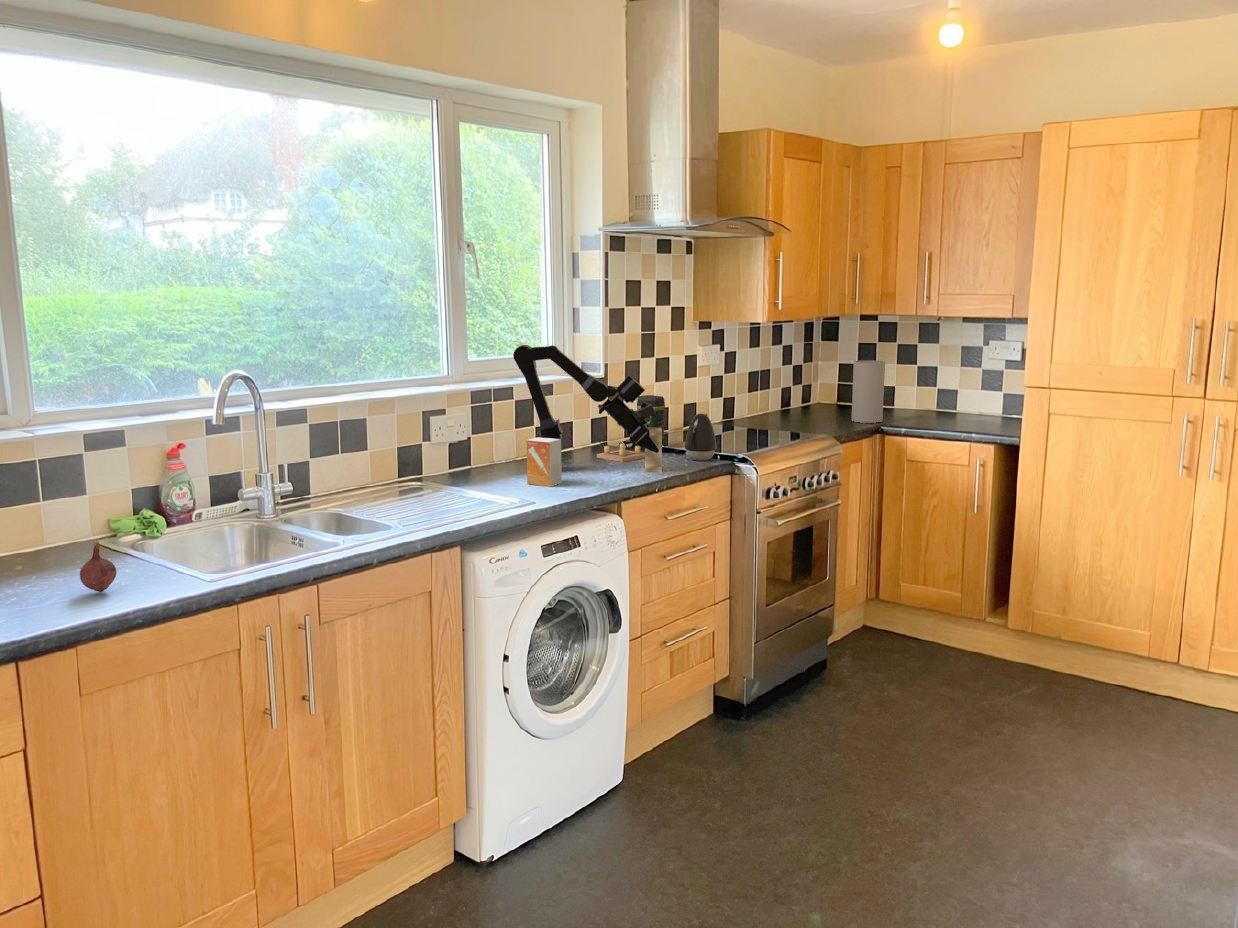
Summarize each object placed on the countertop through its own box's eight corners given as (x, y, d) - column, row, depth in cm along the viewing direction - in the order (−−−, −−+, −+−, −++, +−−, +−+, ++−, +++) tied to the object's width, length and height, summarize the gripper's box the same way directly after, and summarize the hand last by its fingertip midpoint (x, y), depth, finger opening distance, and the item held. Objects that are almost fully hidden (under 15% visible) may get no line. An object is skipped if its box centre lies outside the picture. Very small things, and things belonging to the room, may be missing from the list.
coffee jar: (668, 447, 341) (668, 395, 338) (656, 450, 335) (656, 397, 331) (645, 445, 347) (645, 393, 343) (633, 448, 340) (633, 395, 337)
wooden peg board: (622, 461, 314) (622, 450, 313) (596, 457, 322) (596, 446, 322) (647, 457, 322) (647, 446, 321) (622, 453, 331) (622, 442, 330)
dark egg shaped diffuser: (720, 457, 320) (721, 412, 318) (710, 463, 311) (710, 416, 308) (691, 455, 324) (692, 410, 322) (680, 460, 315) (680, 414, 312)
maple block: (645, 472, 297) (645, 429, 294) (644, 469, 302) (644, 427, 299) (661, 472, 297) (661, 429, 294) (661, 468, 302) (661, 427, 299)
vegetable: (103, 599, 178) (97, 546, 176) (73, 597, 179) (67, 545, 177) (125, 589, 184) (120, 538, 182) (96, 587, 185) (91, 536, 183)
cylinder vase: (856, 419, 411) (858, 359, 407) (885, 420, 405) (888, 360, 401) (847, 422, 401) (849, 361, 396) (877, 424, 395) (880, 363, 390)
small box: (526, 484, 279) (525, 439, 277) (539, 480, 284) (538, 436, 282) (550, 487, 275) (549, 441, 273) (562, 483, 280) (561, 438, 278)
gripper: (640, 398, 286) (678, 435, 288) (639, 391, 304) (674, 426, 306) (614, 425, 287) (651, 461, 289) (614, 416, 306) (649, 451, 308)
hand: (657, 449), depth 298 cm, fingers open, 9 cm apart
